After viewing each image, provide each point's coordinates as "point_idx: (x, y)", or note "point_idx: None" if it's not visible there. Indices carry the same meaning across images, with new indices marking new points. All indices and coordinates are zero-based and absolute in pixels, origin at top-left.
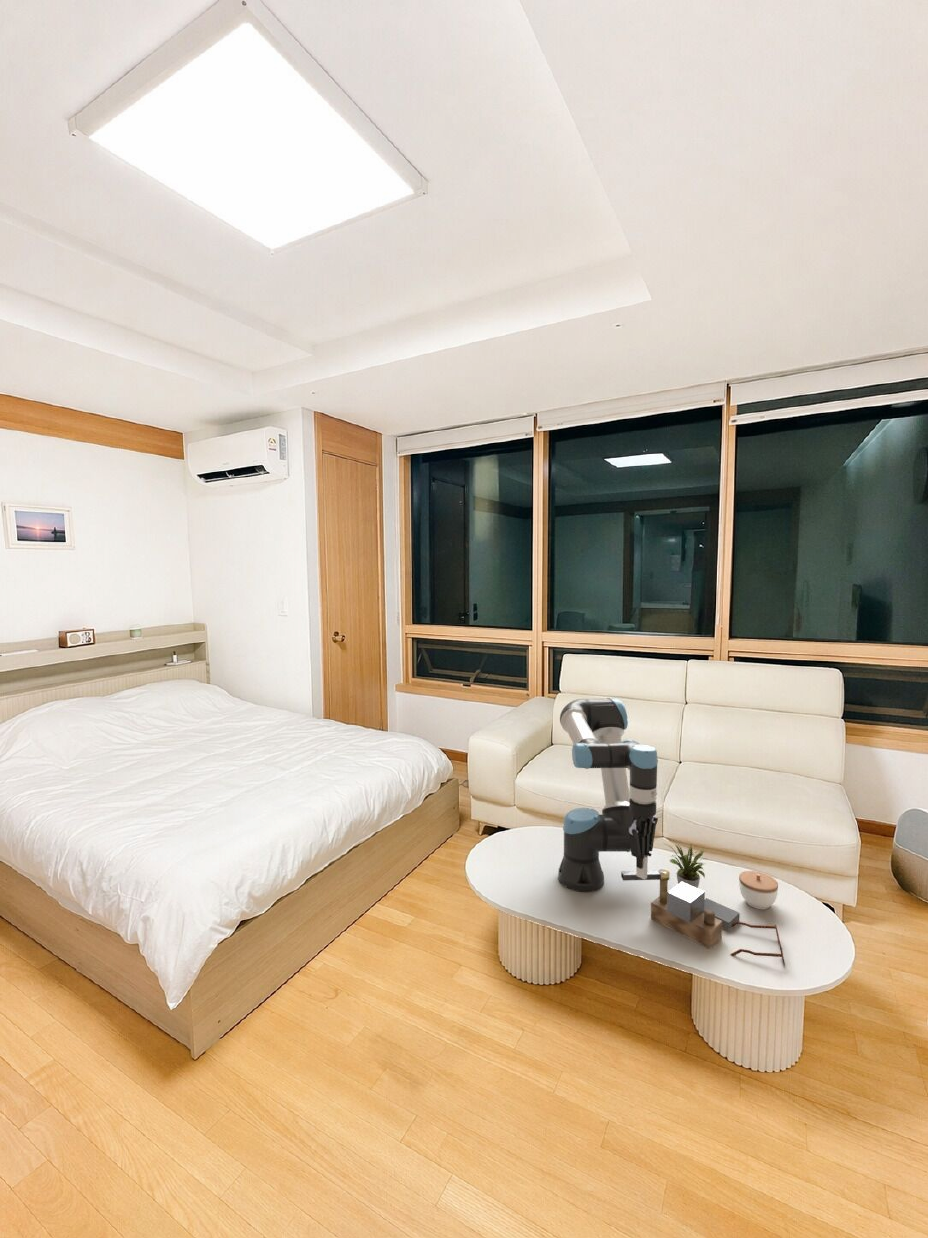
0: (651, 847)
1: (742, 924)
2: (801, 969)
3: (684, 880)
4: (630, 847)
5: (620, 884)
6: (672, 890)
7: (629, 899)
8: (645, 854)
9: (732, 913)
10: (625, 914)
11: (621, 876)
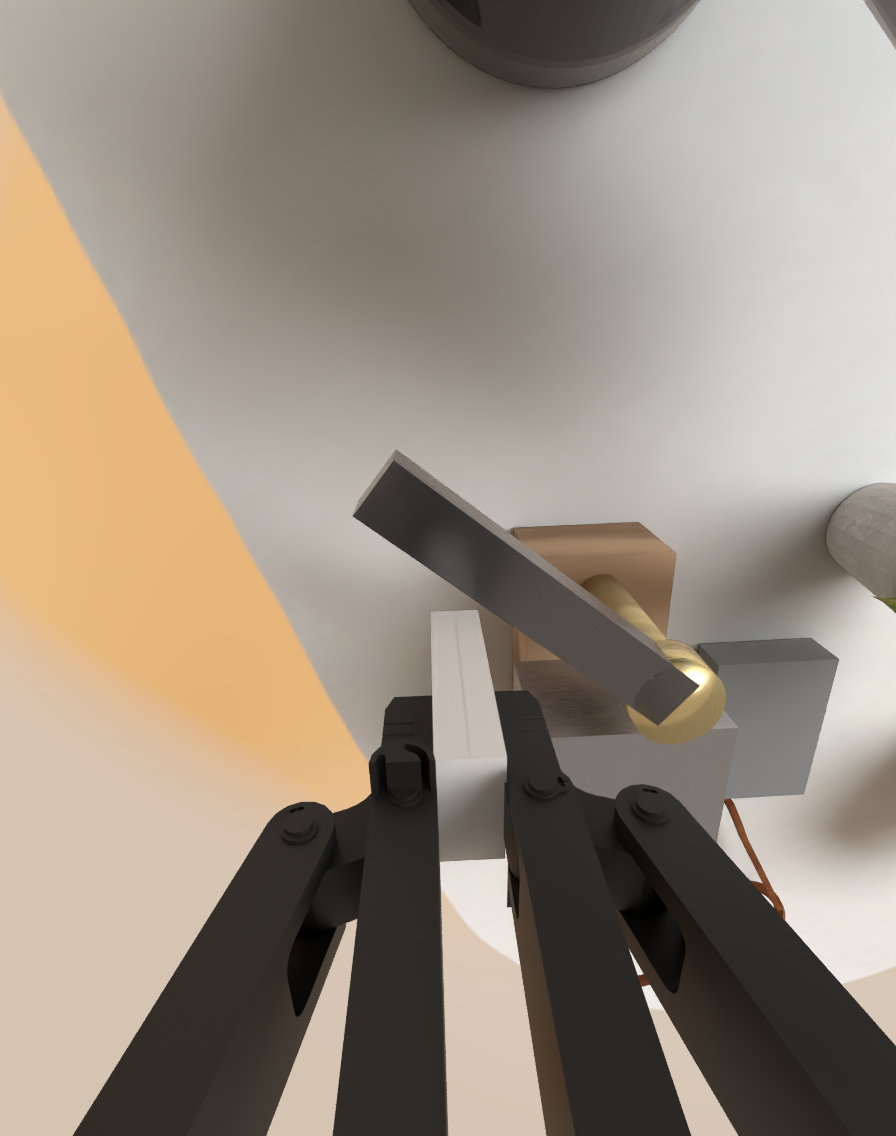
0: (649, 934)
1: (732, 819)
2: (633, 962)
3: (891, 581)
4: (183, 962)
5: (716, 167)
6: (582, 749)
7: (593, 334)
8: (508, 851)
9: (779, 780)
10: (440, 414)
11: (391, 456)
